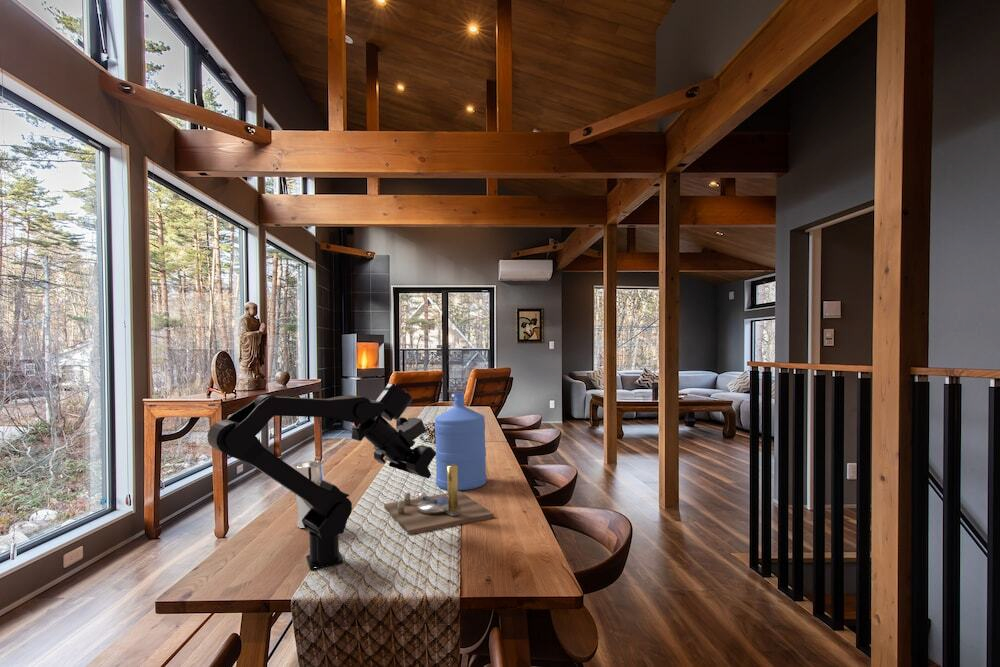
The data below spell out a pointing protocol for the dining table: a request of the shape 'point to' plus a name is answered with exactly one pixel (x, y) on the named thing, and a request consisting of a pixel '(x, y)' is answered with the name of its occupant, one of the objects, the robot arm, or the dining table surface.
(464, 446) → the water jug
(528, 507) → the dining table surface
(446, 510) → the dial
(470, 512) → the walnut board
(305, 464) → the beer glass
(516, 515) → the dining table surface
